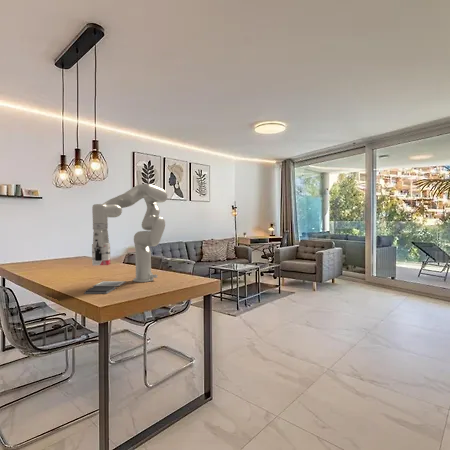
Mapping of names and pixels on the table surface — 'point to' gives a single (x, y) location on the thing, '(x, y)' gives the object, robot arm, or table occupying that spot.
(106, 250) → the ink box
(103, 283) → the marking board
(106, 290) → the pad
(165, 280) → the table surface
